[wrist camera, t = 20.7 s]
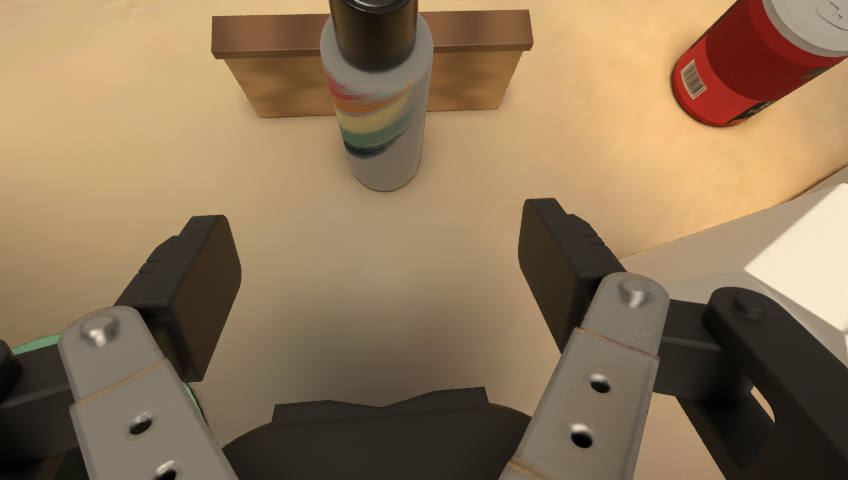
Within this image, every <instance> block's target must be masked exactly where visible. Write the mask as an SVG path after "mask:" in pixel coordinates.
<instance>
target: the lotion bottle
mask: <svg viewBox="0 0 848 480" xmlns="http://www.w3.org/2000/svg"><path fill="white" fill-rule="evenodd" d="M329 5H330V11H331V16H330V17H329V18H328V20H327V22H326V23H325V25H324V28H323V30H322V34H321V40H320V52H321V58H322V62H323V66H324V70H325V74H326V78H327V82H328V85H329V89H330V93H331V97H332V100H333V104H334V108H335V111H336V115H337V119H338V122H339V126H340V130H341V133H342V137H343V141H344V144H345V148H346V152H347V155H348V159H349V162H350V165H351V168H352V170H353V172H354V174H355V176H356V177H357V178H358V180H359V181H360V182H362V183H363V184H364V185H365V186H367V187H369V188H371V189H374V190H378V191H392V190H396V189H399V188H401V187H403V186H404V185H406V184H407V183H408V182H409V181H410V180H411V179H412V178H413V176H414V175H415V173H416V171H417V168H418V165H419V161H420V154H421V147H422V139H423V131H424V123H425V116H426V108H427V100H428V93H429V85H430V77H431V69H432V61H433V40H432V35H431V32H430V29H429V27H428V25H427V23H426V21H425V20H424V19H423V17H422V16H421V15H420V14H419V13H418V0H329Z"/></svg>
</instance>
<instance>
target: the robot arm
mask: <svg viewBox="0 0 848 480" xmlns="http://www.w3.org/2000/svg"><path fill="white" fill-rule="evenodd" d="M518 258H519V264H520V268H521V270H522V272H523V274H524V276H525V279H526V281H527V283H528V285H529V287H530V289H531V291H532V293H533V296H534V298H535V300H536V302H537V304H538V306H539V308H540V310H541V312H542V315H543V317H544V319H545V321H546V323H547V325H548V327H549V329H550V332H551V334H552V336H553V338H554V340H555V342H556V344H557V346H558V349H559V351H560V353H561V354H562V355H561V357H560V360H559V362H558V364H557V366H556V368H555V370H554V372H553V374H552V376H551V379H550V381H549V383H548V385H547V387H546V389H545V391H544V393H543V396H542V398H541V400H540V402H539V404H538V406H537V408H536V410H535V412H534V415H533V417H531V416H528V415H526V414H524V413H522V412H520V411H518V410H515V409H512V408H510V407H506V406H502V405H498V404H493V403H489V402H488V398H487V395H486V391H485V387H475V388H463V389H452V390H440V391H433V392H430V393H426V394H423V395H420V396H417V397H414V398H411V399H408V400H404V401H401V402H398V403H395V404H392V405H389V406H385V407H374V406H367V405H360V404H353V403H346V402H338V401H331V400H323V401H311V402H300V403H288V404H276V405H275V409H274V413H273V418H272V422H271V423H268V424H265V425H262V426H260V427H258V428H255V429H253V430H251V431H249V432H247V433H245V434H243V435H242V436H240V437H238V438H237V439H235V440H233V441H232V442H230V443H229V444H227V445H226V446H225V447H223V448H222V449H221V448H220V446H219V445H218V443H217V441H216V440H215V438H214V436H213V434H212V433H211V431H210V429H209V428H208V426H207V424H206V422H205V421H204V419H203V417H202V416H201V414H200V412H199V410H198V409H197V407H196V405H195V404H194V402H193V400H192V398H191V397H190V395H189V393H188V392H187V390H186V388H185V386H184V385H183V383H188V382H200V381H202V380H203V377H204V375H205V372H206V370H207V367H208V365H209V362H210V360H211V357H212V355H213V352H214V350H215V347H216V345H217V342H218V340H219V337H220V335H221V332H222V330H223V327H224V325H225V322H226V320H227V317H228V315H229V312H230V310H231V307H232V305H233V302H234V300H235V297H236V295H237V292H238V290H239V287H240V284H241V265H240V261H239V257H238V254H237V250H236V247H235V243H234V240H233V236H232V233H231V229H230V226H229V222H228V220H227V218H226V217H225V216H224V215H207V216H193V217H191V218H190V220H189V221H188V223H187V224H186V226H185V227H184V229H183V230H182V231H181V233H180V234H179V236H172V237H170V238H169V239H168V240H166V241H165V242H163V243H162V244H160V245H159V246H158V247H156V248H155V250H154V251H153V252H152V254H151V255H150V256H149V258H148V259H147V260H146V261H147V263H144V264H143V266H142V267H141V269H140V270H139V274H136V275H135V277H134V278H133V279H132V281H131V282H130V283H129V285H128V286H127V288H126V289H125V290H124V292H123V293H122V294H121V296H120V297H119V298H118V300H117V301H116V302H115V304H114V305H113V306H112V307H107V308H103V309H99V310H96V311H94V312H91V313H89V314H87V315H85V316H83V317H81V318H79V319H78V320H76V321H75V322H73V323H72V324H71V325H69V326H68V327H67V328H66V329H65V330H64V331H63V333H62V334H61V335H60V337H59V339H58V343H57V344H53V345H50V346H46V347H42V348H38V349H35V350H31V351H27V352H23V353H20V354H16V355H14V354H13V352H12V351H11V349H10V348H9V347H8V345H7V344H6V343H5V341H3V340H1V339H0V480H53V478H54V476H55V474H56V473H57V471H58V469H59V467H60V465H61V463H62V462H63V460H64V458H65V456H66V454H67V452H68V451H69V449H72V448H75V447H77V446H80V449H81V452H82V455H83V459H84V462H85V465H86V469H87V472H88V475H89V479H90V480H632V479H633V475H634V471H635V466H636V462H637V457H638V453H639V449H640V444H641V440H642V435H643V431H644V427H645V422H646V418H647V414H648V409H649V405H650V400H651V396H652V392H656V393H661V394H666V395H672V396H675V397H676V398H677V400H678V402H679V403H680V405H681V407H682V408H683V410H684V412H685V413H686V415H687V416H688V418H689V420H690V421H691V423H692V425H693V426H694V428H695V430H696V431H697V433H698V434H699V436H700V438H701V439H702V441H703V443H704V444H705V446H706V448H707V449H708V451H709V452H710V454H711V456H712V457H713V459H714V461H715V462H716V464H717V466H718V467H719V469H720V470H721V472H722V474H723V475H724V477H725V479H726V480H848V368H847V367H846V366H845V365H844V364H843V363H842V362H841V361H840V360H839V359H838V358H837V357H836V356H835V355H834V354H832V353H831V352H830V351H829V350H828V349H827V348H826V347H825V346H824V345H823V344H822V343H821V342H820V341H819V340H817V339H816V338H815V337H814V336H813V335H812V334H811V333H810V332H809V331H808V330H807V329H806V328H805V327H804V326H803V325H801V324H800V323H799V322H798V321H797V320H796V319H795V318H794V317H793V316H792V315H791V314H790V313H789V312H788V311H786V310H785V309H784V308H783V307H782V306H781V305H780V304H779V303H777V302H776V301H774V300H773V299H771V298H769V297H767V296H765V295H763V294H761V293H759V292H756V291H753V290H749V289H746V288H741V287H722V288H718V289H716V290H715V291H713V293H712V294H711V296H710V299H709V301H708V303H707V304H702V303H695V302H688V301H681V300H675V299H670V298H669V295H668V293H667V291H666V290H665V289H664V288H663V287H662V286H661V285H660V284H658V283H657V282H656V281H654V280H652V279H650V278H648V277H645V276H642V275H639V274H635V273H629V272H627V271H626V269H625V268H624V267H623V266H622V264H621V263H620V262H619V261H618V259H617V258H616V257H615V256H614V254H613V253H612V252H611V251H610V249H609V248H608V247H607V246H605V245H604V242H603V241H602V239H601V238H600V237H599V236H597V233H596V232H595V231H594V229H593V228H592V227H591V226H590V224H589V223H587V222H586V221H584V220H582V219H581V218H579V217H577V216H576V215H574V214H566V212H565V211H564V210H563V208H562V207H561V206H560V204H559V203H558V202H557V200H556V199H555V198H539V199H527V200H526V201H525V203H524V206H523V213H522V221H521V229H520V237H519V245H518ZM754 386H755V387H756V388H757V389H758V391H759V392H760V393H761V394H762V396H763V397H764V398H765V399H766V400H767V402H768V403H769V405H770V407H771V409H772V411H773V414H774V418H775V423H774V422H773V420H772V419H771V418H770V416H769V415H768V414H767V413H766V411H765V410H764V409H763V408H762V406H761V405H760V404H759V402H758V401H757V400H756V399H755V397H754V396H753V395H752V394H751V390H752V388H753V387H754Z"/></svg>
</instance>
